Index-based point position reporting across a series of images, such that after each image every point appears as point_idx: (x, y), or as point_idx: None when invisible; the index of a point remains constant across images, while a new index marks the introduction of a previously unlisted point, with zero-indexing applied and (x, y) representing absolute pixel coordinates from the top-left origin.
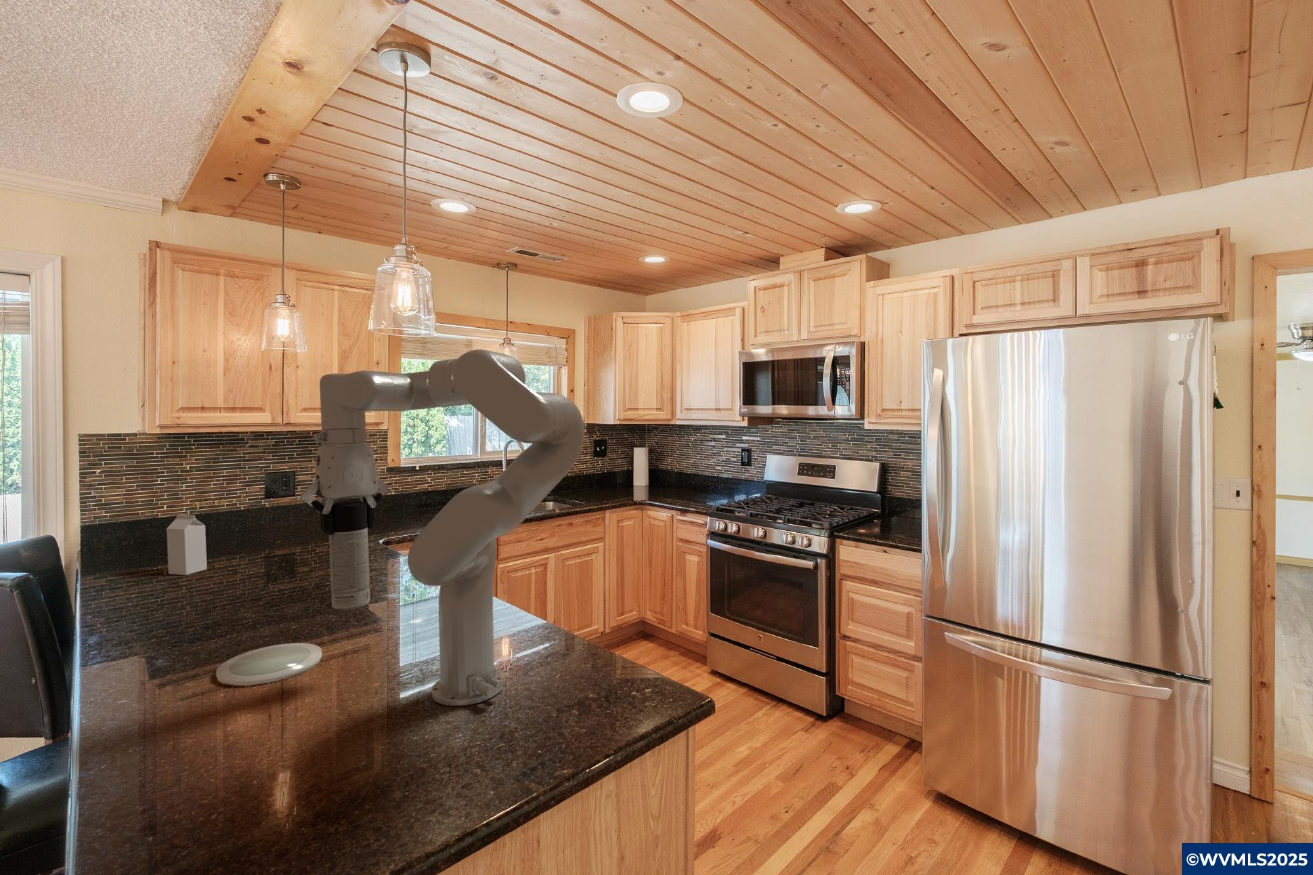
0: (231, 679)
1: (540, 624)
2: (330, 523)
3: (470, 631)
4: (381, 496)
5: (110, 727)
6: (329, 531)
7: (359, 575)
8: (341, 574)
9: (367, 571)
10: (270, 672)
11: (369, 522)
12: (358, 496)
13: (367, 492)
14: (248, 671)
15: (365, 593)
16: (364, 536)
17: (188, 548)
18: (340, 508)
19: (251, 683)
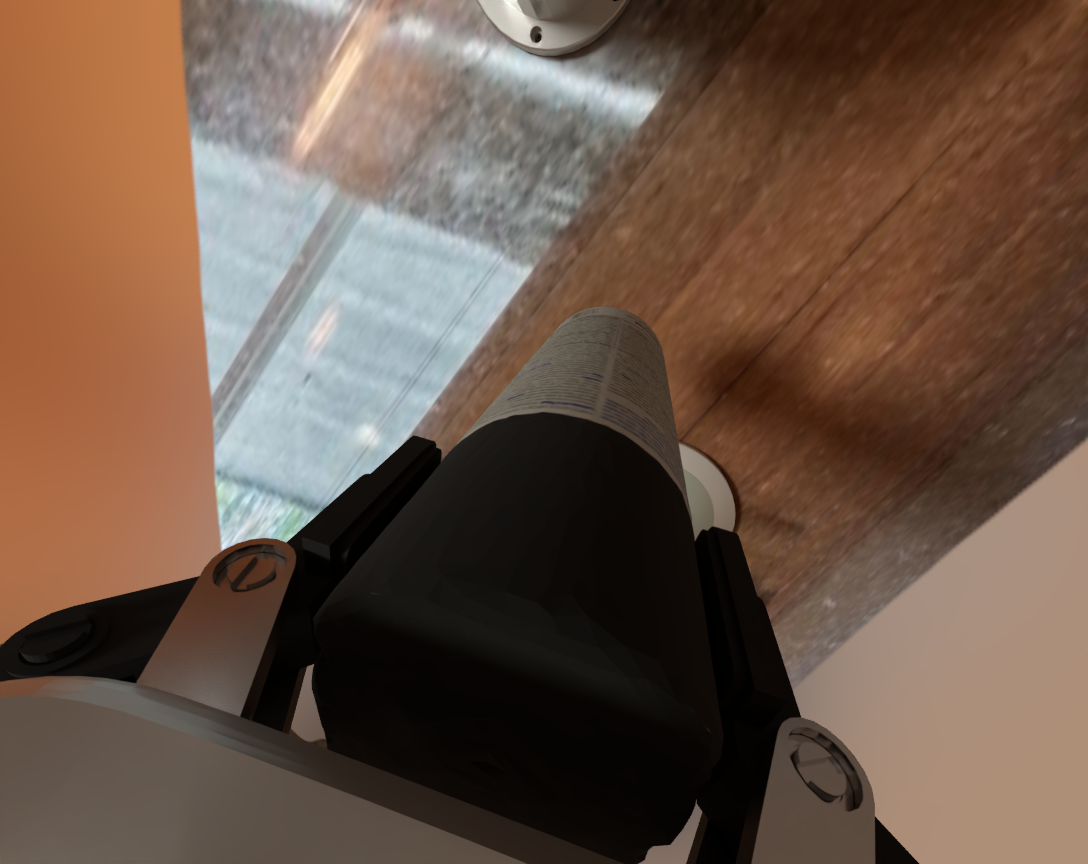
0: (732, 509)
1: (195, 130)
2: (753, 598)
3: None
4: (45, 623)
5: (921, 540)
6: (738, 553)
7: (604, 330)
8: (665, 379)
9: (553, 339)
10: (686, 470)
11: (415, 465)
12: (361, 767)
13: (119, 767)
14: (696, 510)
15: (587, 313)
16: (522, 395)
17: None
18: (699, 692)
19: (721, 472)
